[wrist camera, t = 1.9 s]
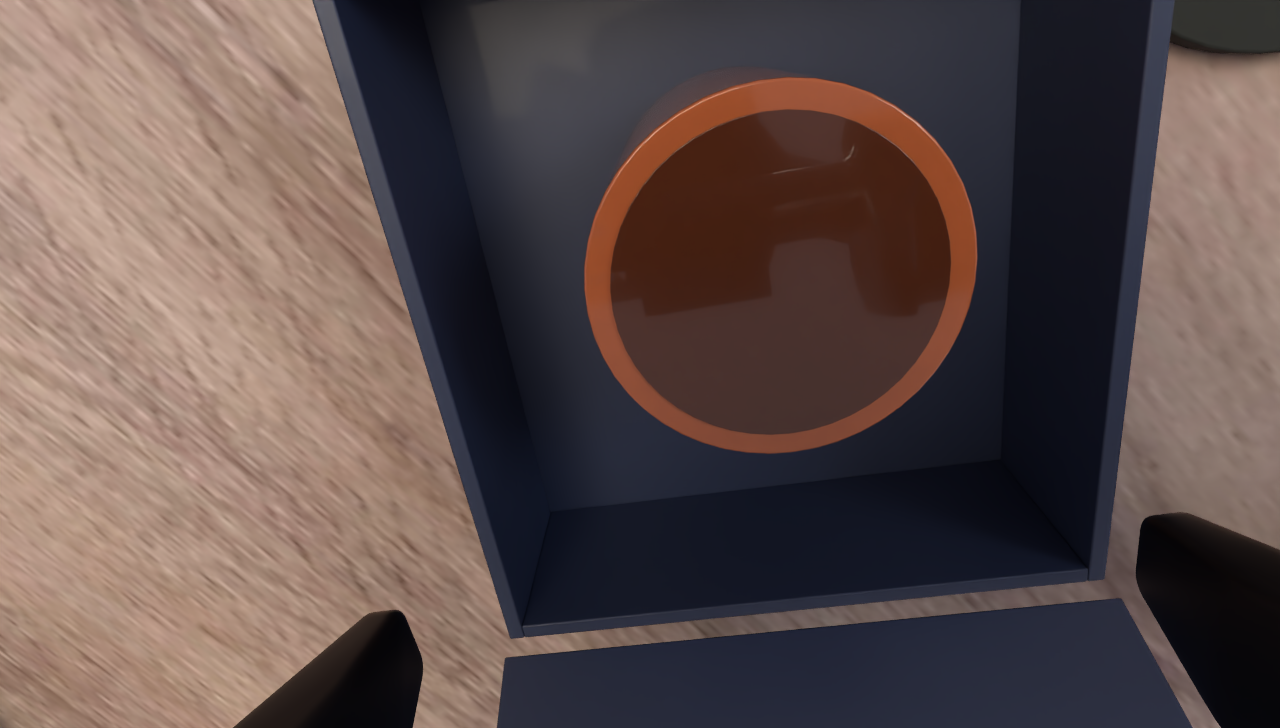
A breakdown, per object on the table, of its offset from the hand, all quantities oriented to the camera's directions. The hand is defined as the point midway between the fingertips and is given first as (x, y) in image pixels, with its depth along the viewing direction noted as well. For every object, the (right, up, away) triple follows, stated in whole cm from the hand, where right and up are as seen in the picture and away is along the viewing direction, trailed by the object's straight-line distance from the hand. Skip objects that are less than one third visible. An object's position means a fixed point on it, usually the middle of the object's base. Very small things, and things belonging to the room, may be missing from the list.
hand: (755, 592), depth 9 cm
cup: (+1, +7, +10) cm, 12 cm away
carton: (+1, +6, +11) cm, 13 cm away
